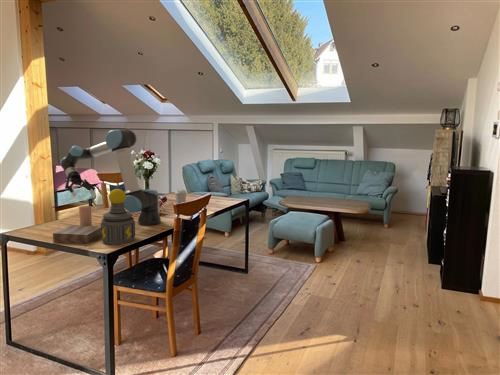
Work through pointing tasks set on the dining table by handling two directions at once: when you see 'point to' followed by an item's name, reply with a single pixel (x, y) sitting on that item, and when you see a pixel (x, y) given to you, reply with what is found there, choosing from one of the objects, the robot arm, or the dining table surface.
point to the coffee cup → (180, 196)
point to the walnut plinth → (77, 234)
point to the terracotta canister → (85, 216)
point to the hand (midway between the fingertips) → (85, 196)
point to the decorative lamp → (117, 221)
